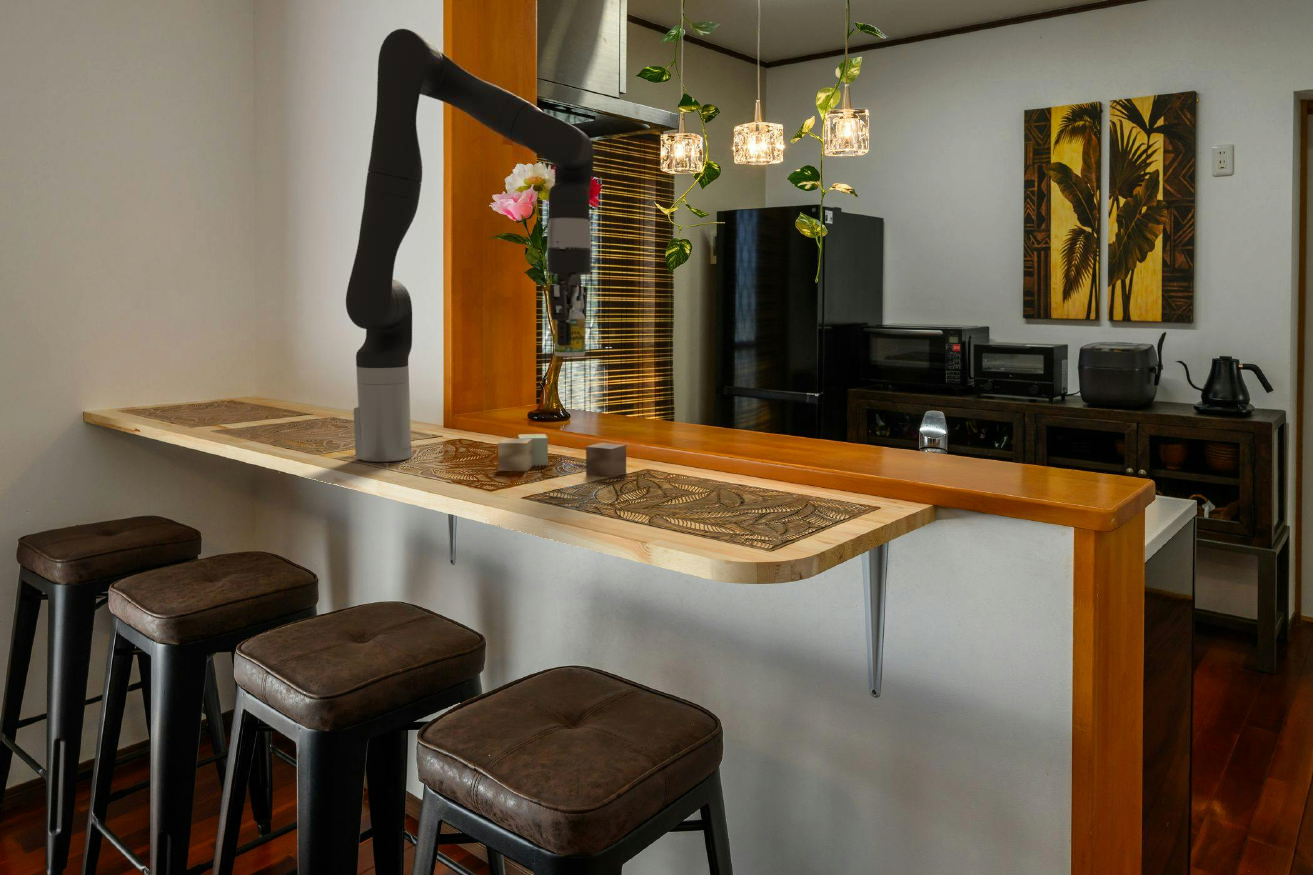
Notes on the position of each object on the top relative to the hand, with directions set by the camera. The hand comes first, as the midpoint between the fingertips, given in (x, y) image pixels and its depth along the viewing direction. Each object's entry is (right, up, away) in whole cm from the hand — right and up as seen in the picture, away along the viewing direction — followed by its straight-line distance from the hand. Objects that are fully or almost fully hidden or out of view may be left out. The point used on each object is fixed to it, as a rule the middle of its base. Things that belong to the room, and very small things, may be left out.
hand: (569, 344), depth 159 cm
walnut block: (+7, -23, -3) cm, 24 cm away
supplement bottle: (0, -2, 0) cm, 2 cm away
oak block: (-10, -22, +1) cm, 24 cm away
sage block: (-7, -21, +7) cm, 23 cm away
